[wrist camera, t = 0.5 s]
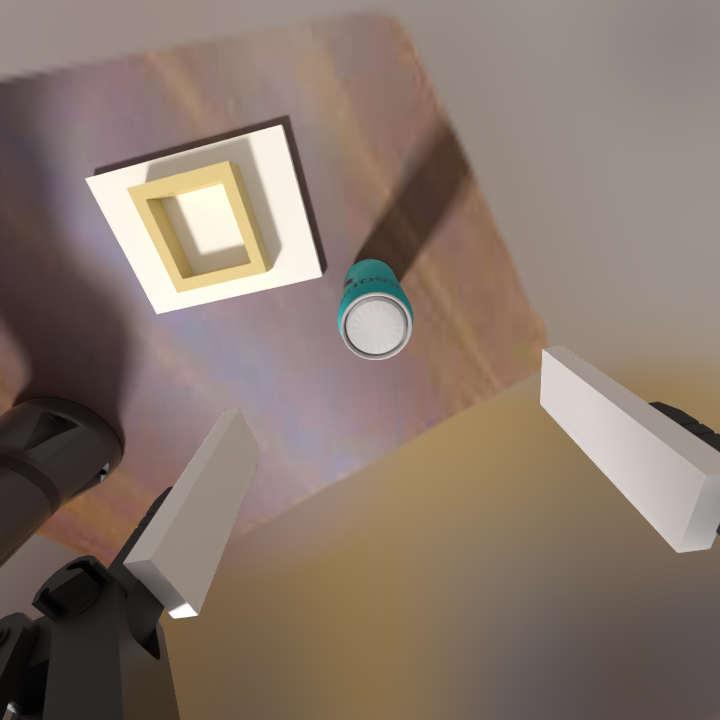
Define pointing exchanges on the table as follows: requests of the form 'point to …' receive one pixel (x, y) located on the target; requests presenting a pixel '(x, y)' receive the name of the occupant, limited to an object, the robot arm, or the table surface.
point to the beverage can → (374, 311)
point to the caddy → (212, 220)
